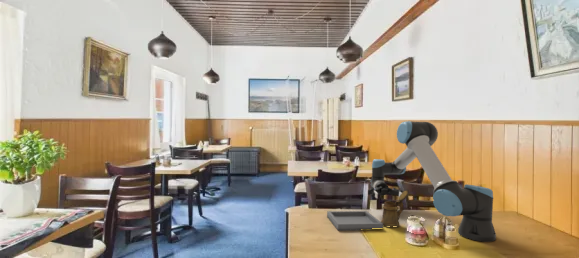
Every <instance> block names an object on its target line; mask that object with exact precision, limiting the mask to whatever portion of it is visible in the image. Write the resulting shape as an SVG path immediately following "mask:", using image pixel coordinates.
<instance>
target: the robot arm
mask: <svg viewBox="0 0 579 258" xmlns="http://www.w3.org/2000/svg"><path fill="white" fill-rule="evenodd" d="M438 136H439V131H438V128H437V127H436V126H435V125H434V124H433V123H431V122H429V121H414V120H413V121H412V120H411V121H410V120H408V121H407V120H406V121H402V122H401V123H400V124H399V125H398V127H397V130H396V138H397V139H396V140H397V141H398V142H399V143H400V144H405V145H406V148H405V150H403V151H402V153H400V154H399V155H398V156H397V157H396V158H395V160H393V161H391V162H386V161H385V159H382V158H381V159H380V158H379V159H377V158H374V159H373V160H372V165H371V180H370V181H369V183H370V182H371V184H370V186H371V188H369V189H367V195H368V196H370V195H371V197H374V198H375V199H379V198H378V197H379V196H385V195H393V196H398V198H399V197H400V195H401V194H402V192H404V191H405V190H402V189H397V188H396V187H393V188H391V187H390V186H389V185H388V184H387V183H386V182H385V175H403V174H405V173H406V171H407V166H409V165H410V164H411V163H412V162H413V161H414V160H415V159H417V160H418V162H419V163H420V165H421V167H422V169H423V171H424V172H425V174H426V176H427V178H428V179H429V181H430V183H431V184H432V186H433V188H434V189H433V191H432V192H433V193H432V194H433V196H432V200H433V206H434V207H435V209H436V211H437V212H438V213H439V214H440V215H443V216H446V217H457V216H462V218H461V221H460V224H459V226H458V227H457V230H458V231H457V233H459V234H460V235H459V234H458V235H459V236H461V235H462V236H461V237H463V236H464V237H463V238H465V237H466V238H465V239H468V238H469V239H468V240H471V239H472V241H476V242H486V243H488V242H489V243H490V242H494V241H496V239H497V234H496V230H495V227H494V224H493V209H494V207H493V205H494V193H493V190H492V189H491V188H489V187H484V186H480V185H476V184H475V185H473V184H469V183H468V184H464V186H463V188H462V187H461V185H460V184H459V182H458V181H456V180H453V179H452V178H451V176H450V175H449V173H448V171H447V170H446V168H445V167H444V165H443V164H442V162H441V160H440V159H439V157H438V156H437V154H436V152H435V151H434V149H433V147H432V146H433V145H434V144H435V143H436V141H437V140H438Z"/></svg>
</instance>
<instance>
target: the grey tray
mask: <svg viewBox="0 0 579 258" xmlns="http://www.w3.org/2000/svg"><path fill="white" fill-rule="evenodd" d="M326 218H327V219H328V220H329V221H330V222H331V224H332V225H333V226H334V228H335V229H336V230H337V231H338V232H342V231H346V232H347V231H348V232H349V231H362V230H361V229H372V228H383V229H384V226H383V223H381V221H380V220H379V219H377V218H376V217H375V216H374V215H372V214H371V213H370V212H369V211H367V210H339V211H337V210H332V211H329V210H328V211H326Z"/></svg>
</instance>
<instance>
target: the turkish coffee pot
mask: <svg viewBox="0 0 579 258" xmlns="http://www.w3.org/2000/svg"><path fill="white" fill-rule="evenodd" d="M403 191H404V192H402V194H401V195H400V197H399V196H398V200H396V201H395V202H393V201H384V203H383V207H382V210H383V211H382V217H381V221H380V222H381V223H383V225H384V226H383V227H385V226H390V227H393V226H399V227H400V221H399V220H400V216H401V215H402V213H403V211H404V202H403V201H404V200H406V199H407V197H408V196H409V194H410V190H409V189H407V190H406V189H405V190H403Z"/></svg>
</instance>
